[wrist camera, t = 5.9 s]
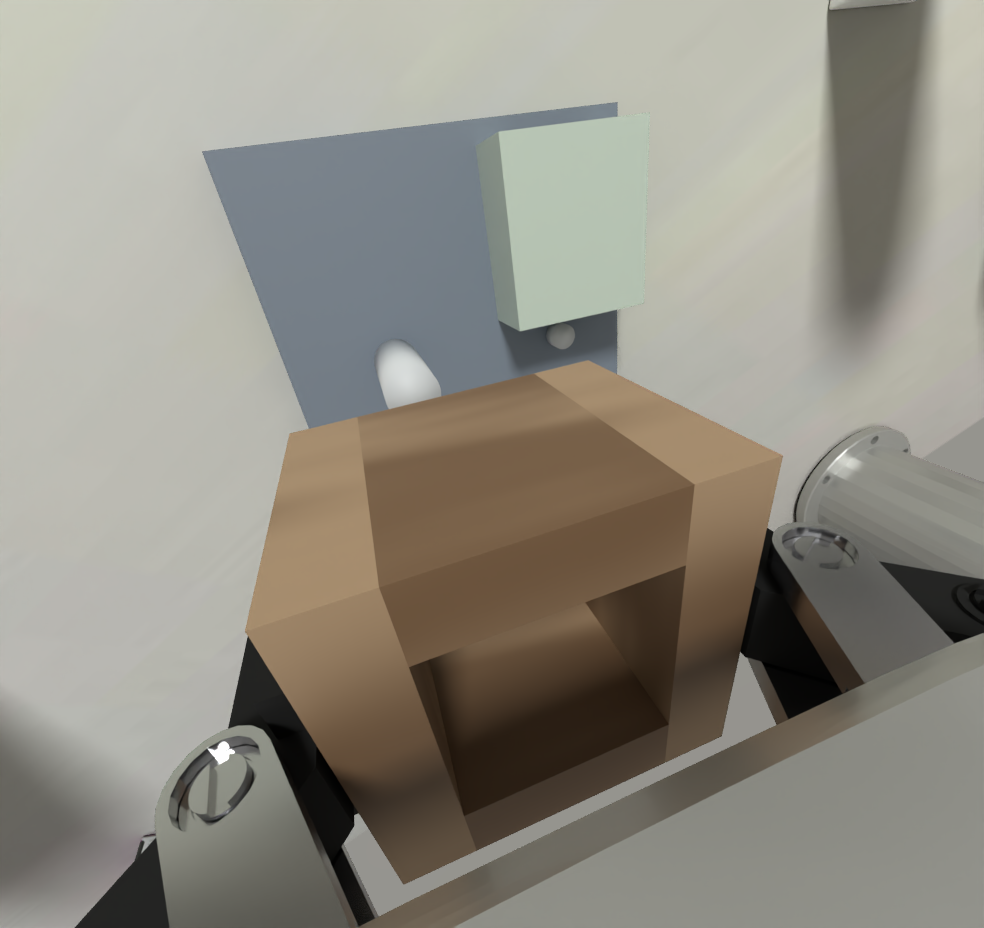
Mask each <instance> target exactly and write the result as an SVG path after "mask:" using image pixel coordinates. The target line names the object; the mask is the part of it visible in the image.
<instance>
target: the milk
mask: <svg viewBox="0 0 984 928" xmlns="http://www.w3.org/2000/svg"><path fill="white" fill-rule="evenodd" d="M914 1H916V0H830V6H829V9H830V10H836V9H847V8H858V7H869V6H879V5H890V4H901V3H911V2H914Z"/></svg>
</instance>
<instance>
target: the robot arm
mask: <svg viewBox="0 0 984 928" xmlns="http://www.w3.org/2000/svg"><path fill="white" fill-rule="evenodd" d="M796 521H797V522H794V523H787V524H785V525H783V526H780V527H778V528H777V529H776V531H775V532H773V531H771V530H770V529H768V528H767V531H766V535H765V540H764V544H763V549H762V554H761V558H760V563H759V567H758V572H757V576H756V581H755V586H754V590H753V595H752V599H751V604H750V609H749V613H748V618H747V622H746V627H745V631H744V636H743V641H742V645H741V650H740V652H741V653H742V654H743V655H744V656H745V657H747V658H748V661H749V663H750V665H751V668H752V670H753V672H754V675H755V677H756V679H757V681H758V684H759V686H760V688H761V691H762V693H763V695H764V697H765V700H766V702H767V704H768V706H769V709H770V711H771V713H772V715H773V718H774V720H775V722H776V724H777V725H776V726H774V727H772V728H769V729H767V730H765V731H763V732H761V733H759V734H757V735H755V736H752V737H750V738H748V739H746V740H744V741H742V742H740V743H738V744H736V745H734V746H731V747H729V748H727V749H725V750H723V751H721V752H719V753H717V754H715V755H713V756H711V757H708V758H706V759H704V760H702V761H700V762H698V763H696V764H694V765H692V766H689V767H687V768H685V769H683V770H681V771H679V772H677V773H675V774H673V775H671V776H669V777H666V778H664V779H662V780H660V781H658V782H656V783H654V784H652V785H650V786H648V787H645V788H643V789H641V790H639V791H637V792H635V793H633V794H631V795H629V796H627V797H625V798H622V799H620V800H618V801H616V802H614V803H612V804H610V805H608V806H606V807H604V808H601V809H600V810H598V811H595V812H593V813H591V814H589V815H587V816H585V817H583V818H581V819H578V820H577V821H574V822H572V823H570V824H568V825H566V826H564V827H562V828H560V829H558V830H556V831H554V832H552V833H550V834H548V835H545V836H543V837H541V838H539V839H537V840H535V841H533V842H531V843H529V844H527V845H525V846H523V847H521V848H518V849H516V850H514V851H512V852H510V853H508V854H506V855H504V856H502V857H500V858H498V859H496V860H494V861H492V862H490V863H488V864H485V865H484V866H481V867H479V868H477V869H475V870H473V871H471V872H469V873H467V874H465V875H463V876H461V877H459V878H457V879H454V880H452V881H450V882H448V883H446V884H444V885H442V886H440V887H438V888H436V889H434V890H432V891H430V892H428V893H426V894H423V895H421V896H419V897H417V898H415V899H413V900H411V901H409V902H407V903H405V904H403V905H401V906H399V907H397V908H395V909H393V910H391V911H389V912H387V913H385V914H383V915H381V916H378V914H377V912H376V910H375V908H374V906H373V904H372V902H371V900H370V898H369V895H368V894H367V891H366V889H365V887H364V885H363V883H362V881H361V879H360V877H359V875H358V872H357V870H356V868H355V866H354V864H353V862H352V860H351V858H350V856H349V854H348V852H347V850H346V847H345V845H344V842H345V840H346V838H347V837H348V835H349V834H350V832H351V830H352V829H353V827H354V815H355V814H358V811H357V809H356V808H355V806H354V805H353V803H352V801H351V800H350V798H349V797H348V795H347V793H346V792H345V790H344V789H343V787H342V785H341V784H340V782H339V781H338V779H337V777H336V776H335V774H334V773H333V771H332V769H331V768H330V766H329V765H328V763H327V761H326V760H325V758H324V757H323V755H322V753H321V752H320V750H319V749H318V747H317V745H316V744H315V742H314V741H313V739H312V737H311V736H310V734H309V733H308V731H307V729H306V728H305V726H304V725H303V723H302V721H301V720H300V718H299V717H298V715H297V713H296V712H295V710H294V709H293V707H292V705H291V704H290V702H289V701H288V699H287V697H286V696H285V694H284V693H283V691H282V689H281V688H280V686H279V685H278V683H277V681H276V680H275V678H274V677H273V675H272V673H271V672H270V670H269V669H268V667H267V665H266V664H265V662H264V661H263V659H262V657H261V656H260V654H259V653H258V651H257V649H256V648H255V646H254V645H253V643H252V641H251V640H250V638H249V637H248V638H247V643H246V648H245V652H244V657H243V662H242V666H241V671H240V676H239V680H238V685H237V690H236V694H235V699H234V704H233V709H232V713H231V718H230V723H229V727H228V729H226V730H223V731H221V732H219V733H217V734H215V735H214V736H212V737H210V738H208V739H207V740H205V741H204V742H203V743H201V744H200V745H199V746H198V747H197V748H195V749H194V750H193V751H192V752H191V753H189V754H188V755H187V756H186V758H185V759H184V760H183V761H182V762H181V763H180V764H179V766H178V767H177V768H176V769H175V770H174V771H173V773H172V775H171V776H170V778H169V780H168V781H167V783H166V785H165V786H164V788H163V789H162V792H161V795H160V798H159V800H158V803H157V806H156V809H155V832H156V838H155V839H154V840H153V841H152V842H151V843H150V845H149V846H148V847H147V848H146V849H145V850H144V851H143V852H142V853H141V855H140V856H139V857H138V858H137V859H136V860H135V861H134V862H133V863H132V865H131V866H130V867H129V868H128V869H127V870H126V871H125V872H124V874H123V875H122V876H121V877H120V878H119V879H118V880H117V881H116V882H115V884H114V885H113V886H112V887H111V888H110V889H109V890H108V891H107V892H106V894H105V895H104V896H103V897H102V898H101V899H100V900H99V901H98V902H97V904H96V905H95V906H94V907H93V908H92V909H91V910H90V911H89V912H88V914H87V915H86V916H85V917H84V918H83V919H82V920H81V921H80V922H79V924H78V925H77V926H76V927H75V928H984V482H981V481H978V480H976V479H973V478H971V477H968V476H965V475H963V474H960V473H957V472H955V471H952V470H949V469H947V468H944V467H942V466H939V465H936V464H934V463H931V462H929V461H926V460H923V459H921V458H918V457H915V456H913V455H911V452H910V444H909V442H908V439H907V437H906V436H905V435H904V434H903V433H901V432H899V431H897V430H894V429H891V428H888V427H884V426H880V427H872V428H868V429H864V430H862V431H860V432H858V433H856V434H854V435H852V436H850V437H849V438H847V439H846V440H844V441H843V442H841V443H840V444H839V445H838V446H836V447H835V448H834V449H833V450H832V451H831V452H830V453H829V454H828V455H827V456H826V457H825V458H824V459H823V460H822V461H821V462H820V463H819V465H818V466H817V467H816V468H815V470H814V471H813V472H812V474H811V476H810V477H809V479H808V480H807V482H806V484H805V486H804V488H803V490H802V492H801V495H800V498H799V501H798V504H797V510H796Z"/></svg>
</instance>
